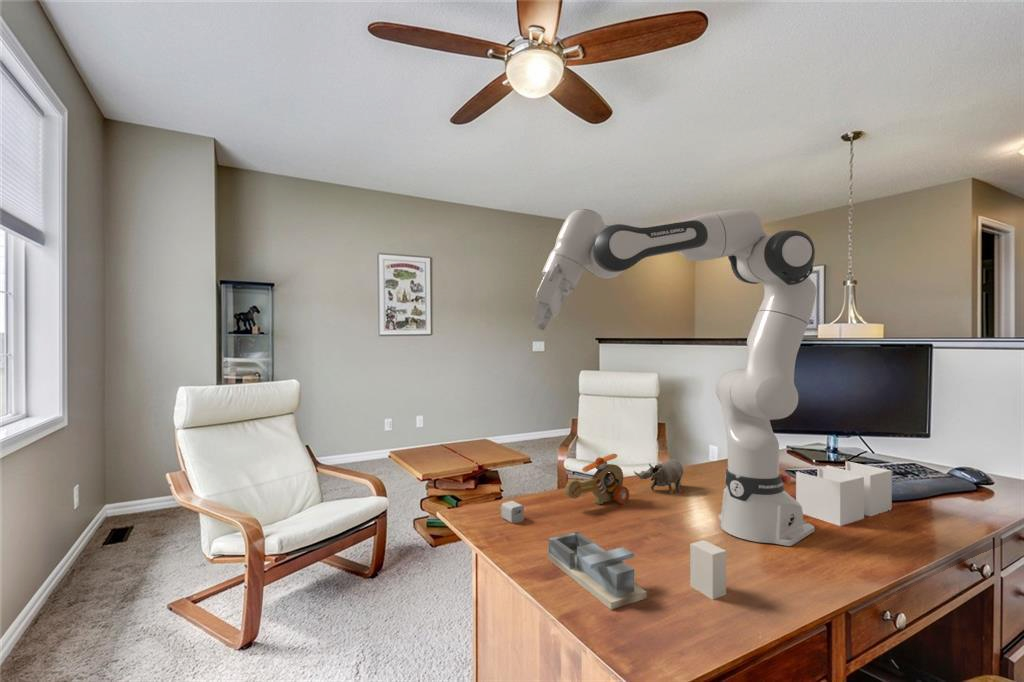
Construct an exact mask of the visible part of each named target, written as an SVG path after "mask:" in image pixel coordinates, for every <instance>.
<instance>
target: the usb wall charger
mask: <svg viewBox="0 0 1024 682" xmlns="http://www.w3.org/2000/svg"><path fill="white" fill-rule="evenodd" d="M498 509H499V510H500V511H501V512H500V513H501V518H502V519H504V520H505V521H507V522H508V523H509V522H510V523H511V524H515V523H520V522H523V521H524V519H525V507H524V505H522V504H520V503H518V502H516V501H514V500H509V501H506V502H503V503H501V506H499V505H498ZM522 520H523V521H522ZM519 521H520V522H519Z"/></svg>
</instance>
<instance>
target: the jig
mask: <svg viewBox="0 0 1024 682" xmlns="http://www.w3.org/2000/svg"><path fill="white" fill-rule="evenodd" d="M546 556H547V560H548V561H550V562H551V563H553V564H554V565H555V566H556V567H557V568H558V569H560V570H561V571H562V572H563V573H564V574H566V575H567V576H568V577H570V578H571V579H573V581H575V583H577V584H579V586H581V587H582V588H583V589H584V590H586V591H587V592H588V593H590V594H591V595H592V596H593V597H595V598H596V599H597V600H598V601H599V602H601V604H603V605H605V607H607V608H608V609H609V610H610V611H611V610H614V609H618V608H621V607H624V606H627V605H630V604H633V603H636V602H640V601H642V600H646V599H647V597H648V591H647V590H646V589H643V588H642V587H641V586H639V585H638V584H636V583H635V568H633V567H631V566H630V565H628V564H627V563H626V562H624V561H626V560H630V559H633V558H634V557H635V552H633V551H631V550H630V549H627V548H626V547H624V546H622V547H618V548H617V547H616V548H614V549H609V550H605V549H604V548H602V547H601V546H600V545H598V544H597V543H596V542H594V541H592V540H591V539H590V538H588V537H587V536H585V535H583V534H582V533H580V532H579V531H575V532H571V533H567V534H566V533H565V534H562V535H557V536H553V537H549V538H548V552H547V555H546Z"/></svg>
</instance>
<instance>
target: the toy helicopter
mask: <svg viewBox="0 0 1024 682" xmlns="http://www.w3.org/2000/svg"><path fill="white" fill-rule="evenodd" d="M617 457H618V454H617V453H611V454H608V455H606V456H604V457H599V456H598V457H597V458H596V459H595V461H593V462H592V463H589V464H588V465H585V466H583V467H582V468H581V469H582V470H581V471H582V472H584V473H587V472H589V471H591V470H593V469H595V470H596V471H595V473H594V474H593V476H592V477H590V478H588V479H587V478H586V479H585V480H577V479H570V480H568V481H567V482H566V484H565V486H564V487H565V488H564V492H565V494H566V496H567V497H568V498H571V499H573V500H574V499H578V498H579V497H580V496H581V495H582V494H587V493H592V494H593V496H594V502H595V503H596V504H598V505H600V504H602V505H603V504H604V503H605V502H606V501H607V502H608V501H612V500H614V501H615V502H616V503H618V504H620V505H624V504H626V503H627V502H628V500H629V498H630V492H629V488H628V487H626V486H623V484H624V473H623V469H622V468H621V466H619V465H617V464H612V463H608V462H609V461H611V460H614V459H616V458H617Z"/></svg>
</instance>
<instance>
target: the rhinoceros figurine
mask: <svg viewBox="0 0 1024 682" xmlns="http://www.w3.org/2000/svg"><path fill="white" fill-rule="evenodd" d="M648 466H649V468H648V469H647V470H641V471H640V473H639V472H636V471H635V470H633V473H634V475H636V477H637V476H638V478H639V479H640V480H647V479H649V478H650V481H651V482H652V483H651V484H650V485H651V486H650V488H651V489H650V491H651V490H654V491H655V489H654V488H655V487H656V486H657V487H666V486H668V491H669V492H668V494H669V495H673V493H674V492H673V489H672V487H673V486H672V484H674V487H675V492H677V491H679V493H680V492H682V490H681V487H682V484H681V480H682V477H683V475H684V467H683V465H682V464H681V463H680V462H679V460H677V459H676V458H672V459H671V458H669V459H666V460H664V461H663V462H662V463H657V464H655V465H654V466H653V465H651V463H650V462H649V463H648ZM680 486H681V487H680Z"/></svg>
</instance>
